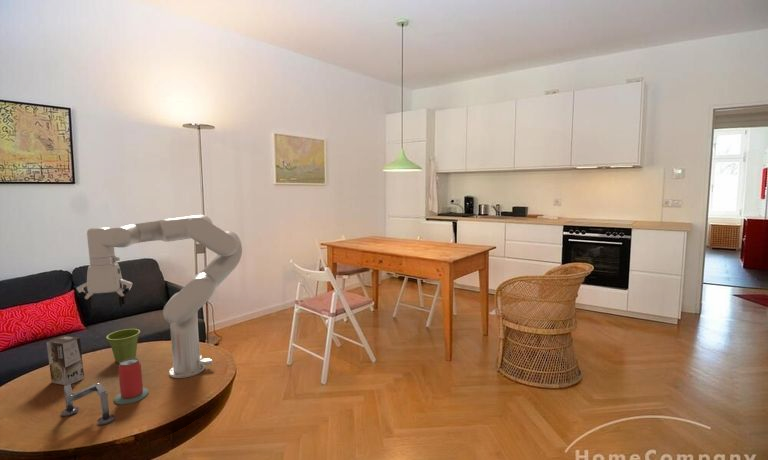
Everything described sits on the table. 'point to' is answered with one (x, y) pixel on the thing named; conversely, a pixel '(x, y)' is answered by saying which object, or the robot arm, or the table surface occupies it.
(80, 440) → the table surface
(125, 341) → the plant pot
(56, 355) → the coffee box
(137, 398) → the coaster
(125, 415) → the table surface
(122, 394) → the beer can
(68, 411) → the zigzag metal bar linkage
